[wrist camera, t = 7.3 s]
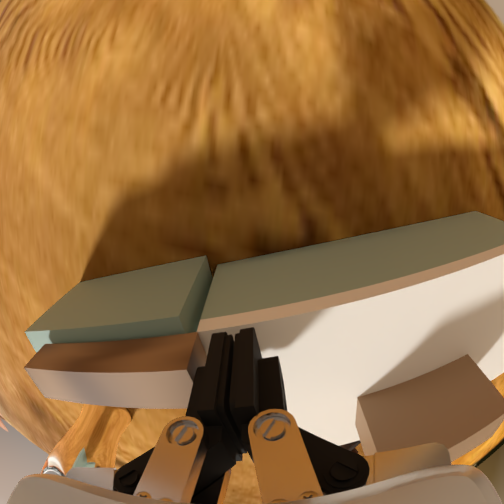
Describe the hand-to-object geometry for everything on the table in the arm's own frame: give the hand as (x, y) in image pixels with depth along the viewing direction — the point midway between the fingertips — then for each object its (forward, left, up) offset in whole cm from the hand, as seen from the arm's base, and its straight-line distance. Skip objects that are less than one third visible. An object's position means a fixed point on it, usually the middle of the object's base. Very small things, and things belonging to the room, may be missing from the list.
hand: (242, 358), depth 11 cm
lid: (-9, +5, -3) cm, 11 cm away
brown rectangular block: (+7, 0, -1) cm, 7 cm away
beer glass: (+20, +14, -9) cm, 26 cm away
